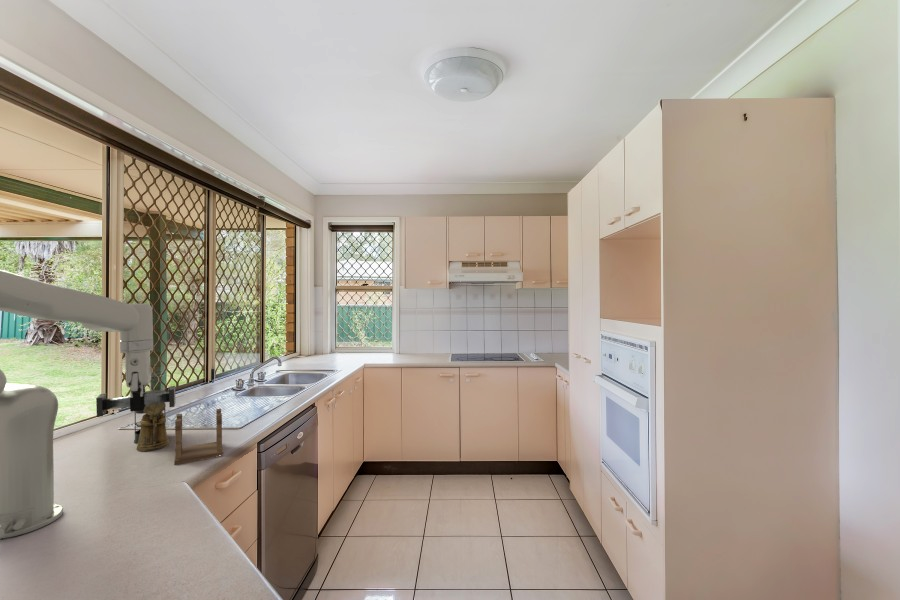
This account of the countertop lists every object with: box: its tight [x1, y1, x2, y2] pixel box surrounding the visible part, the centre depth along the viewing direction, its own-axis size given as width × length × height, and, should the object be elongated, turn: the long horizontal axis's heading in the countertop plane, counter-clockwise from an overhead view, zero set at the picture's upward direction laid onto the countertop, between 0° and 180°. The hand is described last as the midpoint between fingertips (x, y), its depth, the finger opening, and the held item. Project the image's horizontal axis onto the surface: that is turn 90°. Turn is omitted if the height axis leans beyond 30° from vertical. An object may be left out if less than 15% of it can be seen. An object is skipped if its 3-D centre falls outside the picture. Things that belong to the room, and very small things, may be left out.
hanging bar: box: [95, 385, 176, 418], centre depth 114 cm, size 5×17×5 cm, turn 122°
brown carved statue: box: [136, 402, 170, 452], centre depth 134 cm, size 9×14×18 cm, turn 40°
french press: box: [133, 375, 166, 445], centre depth 143 cm, size 12×9×23 cm
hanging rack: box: [173, 408, 224, 466], centre depth 129 cm, size 12×13×13 cm
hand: (138, 408), depth 114 cm, fingers closed on hanging bar, 3 cm apart
